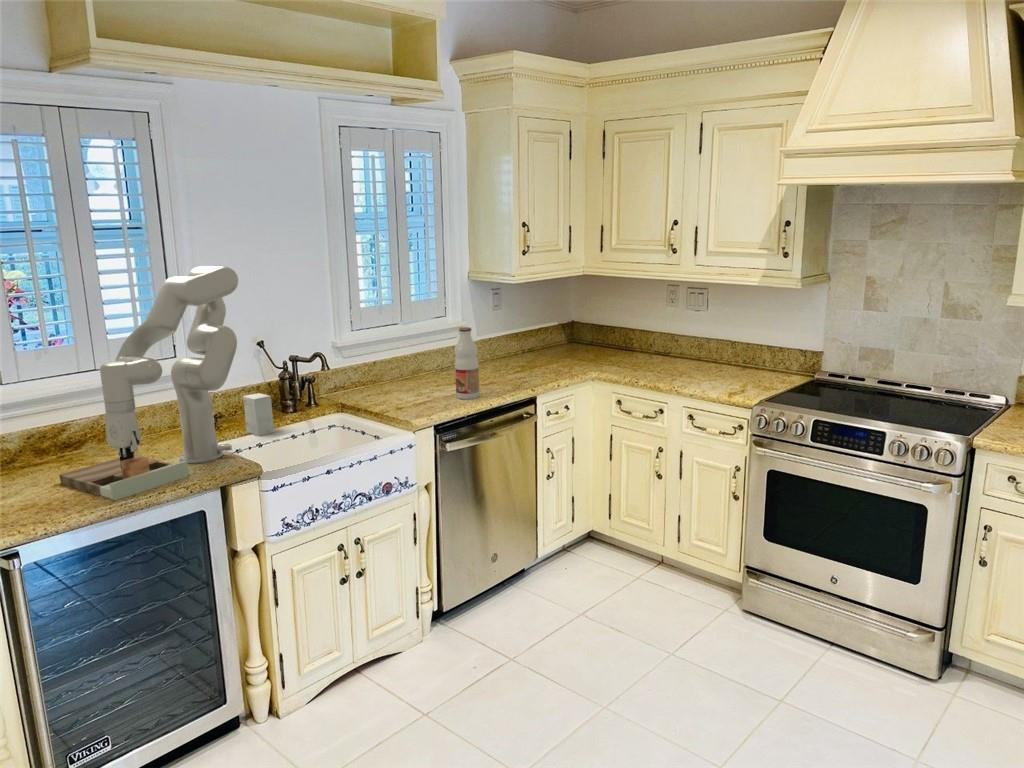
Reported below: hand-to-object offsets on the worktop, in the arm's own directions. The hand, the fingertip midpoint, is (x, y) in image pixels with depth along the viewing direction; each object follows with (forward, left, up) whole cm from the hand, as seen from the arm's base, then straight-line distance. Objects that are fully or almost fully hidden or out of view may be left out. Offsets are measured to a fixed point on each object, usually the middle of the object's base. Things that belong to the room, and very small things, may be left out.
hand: (128, 468), depth 218 cm
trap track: (+5, -5, -4) cm, 8 cm away
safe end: (-5, +4, -4) cm, 7 cm away
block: (-3, +4, -1) cm, 5 cm away
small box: (-31, -44, -4) cm, 54 cm away
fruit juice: (-108, -73, -4) cm, 130 cm away
